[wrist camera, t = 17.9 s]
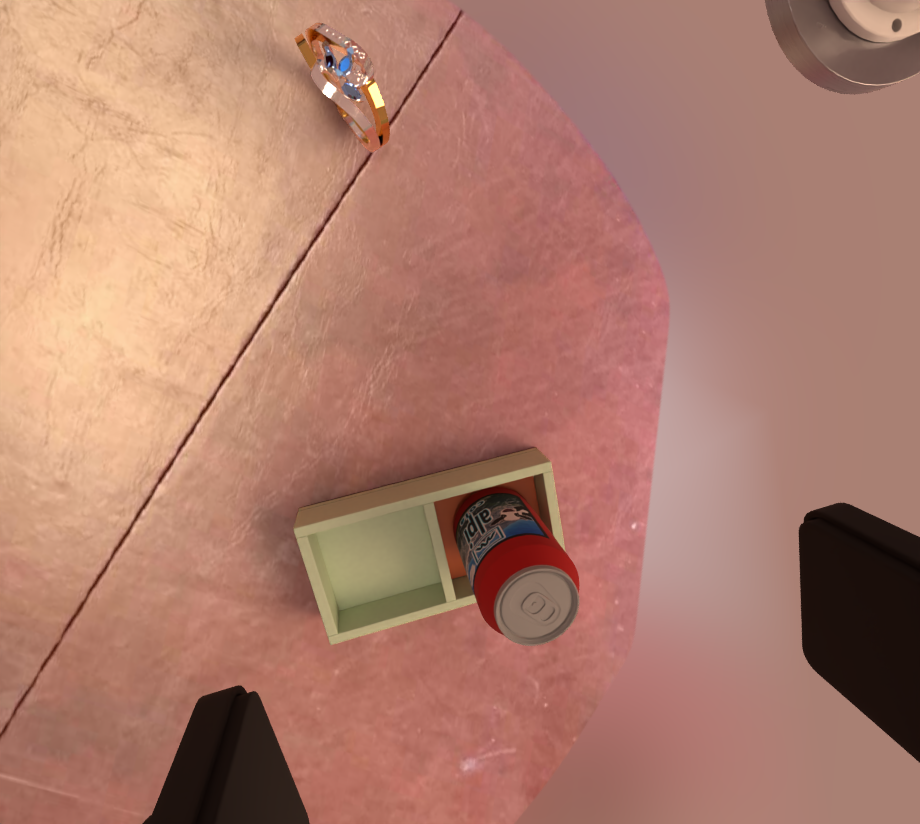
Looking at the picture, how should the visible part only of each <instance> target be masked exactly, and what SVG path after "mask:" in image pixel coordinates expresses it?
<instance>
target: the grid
mask: <svg viewBox="0 0 920 824" xmlns="http://www.w3.org/2000/svg"><path fill="white" fill-rule="evenodd" d="M492 487H503V488H508V489H511V490H513V491H515V492H517V493H519V494H520V495H521V496H523V497H524V498H525V500H526V501H527V502H528V503H529V505H530V506H531V507H532V508H533V510H534V511H535V512H536V513H537V515H538V516H539V517H540V519H541V520H542V521H543V523H544V524H545V525H546V527H547V528H548V529H549V531H550V532H551V533H552V535H553V536H554V537H555V539H556V540H557V541H558V543H559V544H560V545H561V547H562V548H563V550H564V551H565V546H564V539H563V533H562V527H561V521H560V514H559V508H558V502H557V496H556V489H555V483H554V477H553V471H552V465H551V461H550V460H549V459H548V458H547V457H546V456H544V455H543V454H542V453H541V452H540V451H539V450H538V449H537V448H536V447H535V448H531V449H528V450H524V451H520V452H516V453H512V454H508V455H504V456H500V457H496V458H493V459H489V460H485V461H481V462H477V463H473V464H469V465H465V466H461V467H458V468H454V469H450V470H446V471H442V472H438V473H434V474H430V475H426V476H423V477H419V478H415V479H411V480H407V481H403V482H399V483H395V484H391V485H388V486H384V487H380V488H376V489H372V490H368V491H364V492H360V493H356V494H353V495H349V496H345V497H341V498H337V499H333V500H329V501H325V502H321V503H318V504H314V505H310V506H306V507H302V508H299V510H298V514H297V517H296V521H295V525H294V528H293V530H294V533H295V536H296V540H297V543H298V546H299V549H300V552H301V555H302V558H303V561H304V564H305V568H306V571H307V574H308V577H309V580H310V583H311V586H312V589H313V592H314V596H315V599H316V602H317V605H318V608H319V611H320V614H321V617H322V620H323V624H324V627H325V630H326V633H327V636H328V639H329V642H330V645H333V644H336V643H340V642H343V641H346V640H350V639H353V638H357V637H360V636H364V635H367V634H370V633H374V632H377V631H381V630H384V629H388V628H391V627H394V626H398V625H401V624H405V623H408V622H412V621H415V620H418V619H422V618H425V617H429V616H432V615H436V614H439V613H442V612H446V611H449V610H453V609H456V608H460V607H463V606H466V605H470V604H473V603H477V601H476V598H475V595H474V593H473V590H472V587H471V585H470V582H469V579H468V576H467V574H466V571H465V568H464V565H463V562H462V559H461V556H460V553H459V550H458V547H457V544H456V541H455V538H454V532H453V526H454V520H455V517H456V514H457V512H458V510H459V508H460V507H461V505H462V504H463V503H464V502H465V501H466V500H467V499H468V498H469V497H470V496H472V495H473V494H475V493H476V492H478V491H481V490H483V489H487V488H492Z"/></svg>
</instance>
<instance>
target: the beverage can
mask: <svg viewBox="0 0 920 824" xmlns="http://www.w3.org/2000/svg"><path fill="white" fill-rule="evenodd" d="M453 532H454V538H455V541H456V544H457V547H458V550H459V553H460V556H461V559H462V562H463V565H464V568H465V571H466V574H467V576H468V579H469V582H470V585H471V587H472V590H473V593H474V595H475V598H476V601H477V603H478V606H479V609H480V611H481V614H482V616H483V618H484V619H485V621H486V622H487V623H488V624H489V626H491V627H492V628H493V629H494V630H495V631H497V632H499V633H500V634H502V635H504V636H506V637H507V638H508V639H509V640H511V641H513V642H515V643H518V644H521V645H527V646H535V645H541V644H545V643H548V642H550V641H552V640H554V639H556V638H558V637H559V636H560V635H562V634H563V633H564V632H565V631H566V630H567V629H568V628H569V627H570V626H571V624H572V623H573V621H574V619H575V617H576V615H577V612H578V608H579V577H578V573H577V570H576V567H575V565H574V564H573V562H572V561H571V559H570V558H569V556H568V555H567V554H566V552H565V551H564V550H563V548H562V547H561V545H560V544H559V543H558V541H557V540H556V539H555V537H554V536H553V535H552V533H551V532H550V531H549V529H548V528H547V527H546V525H545V524H544V523H543V521H542V520H541V519H540V517H539V516H538V515H537V513H536V512H535V511H534V510H533V508H532V507H531V506H530V505H529V503H528V502H527V501H526V500H525V498H524V497H523V496H521V495H520V494H519V493H517V492H515V491H513V490H511V489H508V488H503V487H492V488H487V489H483V490H481V491H478V492H476V493H475V494H473V495H472V496H470V497H469V498H468V499H467V500H466V501H465V502H464V503H463V504H462V505H461V507H460V508H459V510H458V512H457V514H456V517H455V520H454V526H453Z"/></svg>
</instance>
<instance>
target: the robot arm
mask: <svg viewBox="0 0 920 824" xmlns="http://www.w3.org/2000/svg"><path fill="white" fill-rule="evenodd" d="M829 2H830V5H831V7H832V9H833V10H834V12H835V13H836V15H837V17H838V18H839V20H840V21H841V22H842V23H843V24H844V25H845V26H846V27H847V28H848V29H849V30H850V31H851V32H853V33H855V34H856V35H858V36H859V37H861V38H863V39H866V40H869V41H873V42H884V43H888V42H893V41H898V40H902V39H904V38H906V37H909V36H911V35H913V34H916V33H918V32H920V0H829ZM799 553H800V554H799V555H800V585H801V586H800V587H801V619H802V647H803V652H804V655H805V657H806V659H807V661H808V663H809V664H810V666H811V667H812V668H813V669H814V670H815V671H816V672H817V673H818V674H819V675H820V676H821V677H823V678H824V679H825V680H826V681H827V682H828V683H829V684H831V685H832V686H833V687H834V688H835V689H836V690H837V691H839V692H840V693H841V694H842V695H843V696H844V697H845V698H847V699H848V700H849V701H850V702H851V703H852V704H853V705H855V706H856V707H857V708H858V709H859V710H860V711H861V712H863V713H864V714H865V715H866V716H867V717H868V718H869V719H871V720H872V721H873V722H874V723H875V724H876V725H877V726H879V727H880V728H881V729H882V730H883V731H884V732H885V733H887V734H888V735H889V736H890V737H891V738H892V739H893V740H895V741H896V742H897V743H898V744H899V745H900V746H901V747H903V748H904V749H905V750H906V751H907V752H908V753H909V754H911V755H912V756H913V757H914V758H915V759H916V760H917V761H919V762H920V537H918V536H916V535H914V534H912V533H910V532H907V531H905V530H903V529H901V528H899V527H897V526H895V525H893V524H890V523H888V522H886V521H884V520H882V519H880V518H878V517H876V516H873V515H871V514H869V513H867V512H865V511H862V510H861V509H858V508H856V507H854V506H852V505H850V504H846V503H836V504H833V505H830V506H827V507H823V508H820V509H816V510H813V511H810V512H809V513H807V514H806V516H805V517H804V523H803V524H801V525H800V528H799ZM143 824H309V818H308V815H307V812H306V810H305V807H304V805H303V802H302V800H301V798H300V795H299V793H298V790H297V788H296V785H295V783H294V780H293V778H292V775H291V773H290V770H289V768H288V765H287V763H286V761H285V758H284V756H283V753H282V751H281V748H280V746H279V743H278V741H277V738H276V736H275V733H274V731H273V729H272V726H271V724H270V721H269V719H268V716H267V714H266V711H265V709H264V706H263V704H262V701H261V699H260V697H259V695H258V693H257V692H255V691H253V692H249V693H247V692H246V690H245V689H244V688H243V687H242V686H235V687H231V688H228V689H225V690H221V691H218V692H215V693H212V694H208V695H205V696H202V697H201V698H200V699H199V700H198V702H197V703H196V705H195V708H194V710H193V713H192V715H191V718H190V720H189V723H188V725H187V728H186V730H185V733H184V735H183V738H182V740H181V743H180V745H179V748H178V751H177V753H176V756H175V758H174V761H173V763H172V766H171V768H170V771H169V773H168V776H167V778H166V781H165V783H164V786H163V788H162V791H161V793H160V796H159V798H158V801H157V803H156V806H155V808H154V811H153V813H152V815H151V816H149V817H148V818H147V819H146V820H145V821H144V823H143Z"/></svg>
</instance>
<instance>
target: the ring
mask: <svg viewBox="0 0 920 824" xmlns="http://www.w3.org/2000/svg"><path fill="white" fill-rule="evenodd" d="M305 34H306V38H307V41H308V43H309V44H308V43H307V41H306V39H305V38H304V36H303V34H300V35H299V36H297V37H296V38H295V41H296V43H297V45H298V47H299V49H300V51H301V53H302V54H303V56H304V58H305V60H306V62H307V63H308V65H309V67H310V68H311V70H310V74H311V77H312V79H313V81H314V83H315V84H316V85H317V87H318V88H319V89H320V90H321V91H322V92H323V93H324V94H325V95H327V96H328V97H329V98H330V99H331V100H333V102H334V103H335V105H336V107H337V108H338V109H337V110H338V112H339V114H340V115H341V117H342V119H343V120H344V121H345V122H346V123H347V125H348V126H349V127H350V129H351V130H352V132H353V133H354V135H355V136H356V137H357V139H358V140H359V141H360V142H361V144H362V145H363V146H364V147H365V148H366V149H367V150H368V151H369V152H371V153H372V152H374V151H376V150H378V149H379V148H380V147H382V146H383V145H385V144H386V143H387V142H388V141H389V136H390V129H389V122H388V117H387V113H386V109H385V106H384V103H383V100H382V97H381V95H380V92H379V90H378V87H377V85H376V83H375V80H374V78H373V76H374V68H373V64H372V62H371V60H370V58H369V56H368V55H367V53H366V52H365V51H364V50H363V49H362V48H361V47H360V46H359V45H358V44H357V43H355V42H354V41H353V40H351V39H350V38H348V37H346V36H345V35H343V34H342V33H340V32H338V31H337V30H335V29H333V28H331V27H330V26H328V25H326V24H323V23H315V24H314V25H312V26H311V27H309V28H308V29H306V31H305ZM319 41H321V42H323V44H322V47H323V49H324V52H325V56H323V54H322V51H321V49H320V46H319ZM331 47H333V48H334V49H336V50H338V51H339V52H341V53H343V54H344V55H346V56H345V57H343V58H342V59H341V61H340V63H339V65H338V63H337V61H336V58H335V56H334V54H333V51H332V49H331ZM353 62H355V63H356V64H357V66H356V67H355V69H354V70H352V68H353ZM360 70H361V71H362V76H360V74H359V72H360ZM337 80H338V81H337ZM336 81H337V82H336ZM360 88H361V89H362V91H363V93H364V94H362V95H360V93H359V91H358V90H359V89H360ZM357 89H358V90H357ZM365 96H366V97H365ZM366 98H367V100H368V103H369V105H370V107H371V110H372V112H373V115H374V119H375V124H376V131H375V129H374V127H373V126H372V124H371V123H370V121H369V120H368V119H367V117H366V116H365V115H364V114H363V112H362V111H361V110H360V109H359V108H358V107H357V106H356V105H355V104H354V103H353V102H352V101H356V102H357V103H361V102H364V101H366ZM351 100H352V101H351Z"/></svg>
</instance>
